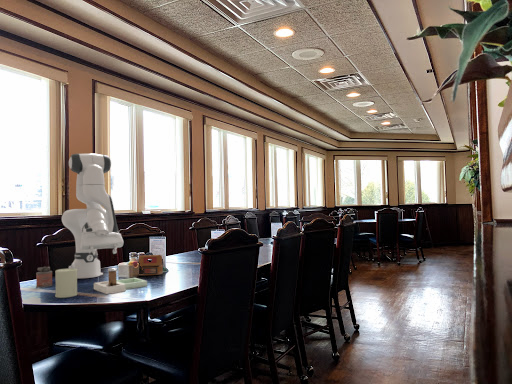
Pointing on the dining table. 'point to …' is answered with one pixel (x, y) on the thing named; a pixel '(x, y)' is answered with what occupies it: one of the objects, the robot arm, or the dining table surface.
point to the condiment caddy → (151, 264)
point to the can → (66, 282)
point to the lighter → (44, 277)
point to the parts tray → (133, 283)
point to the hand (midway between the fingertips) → (105, 253)
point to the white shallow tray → (109, 287)
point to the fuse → (112, 276)
